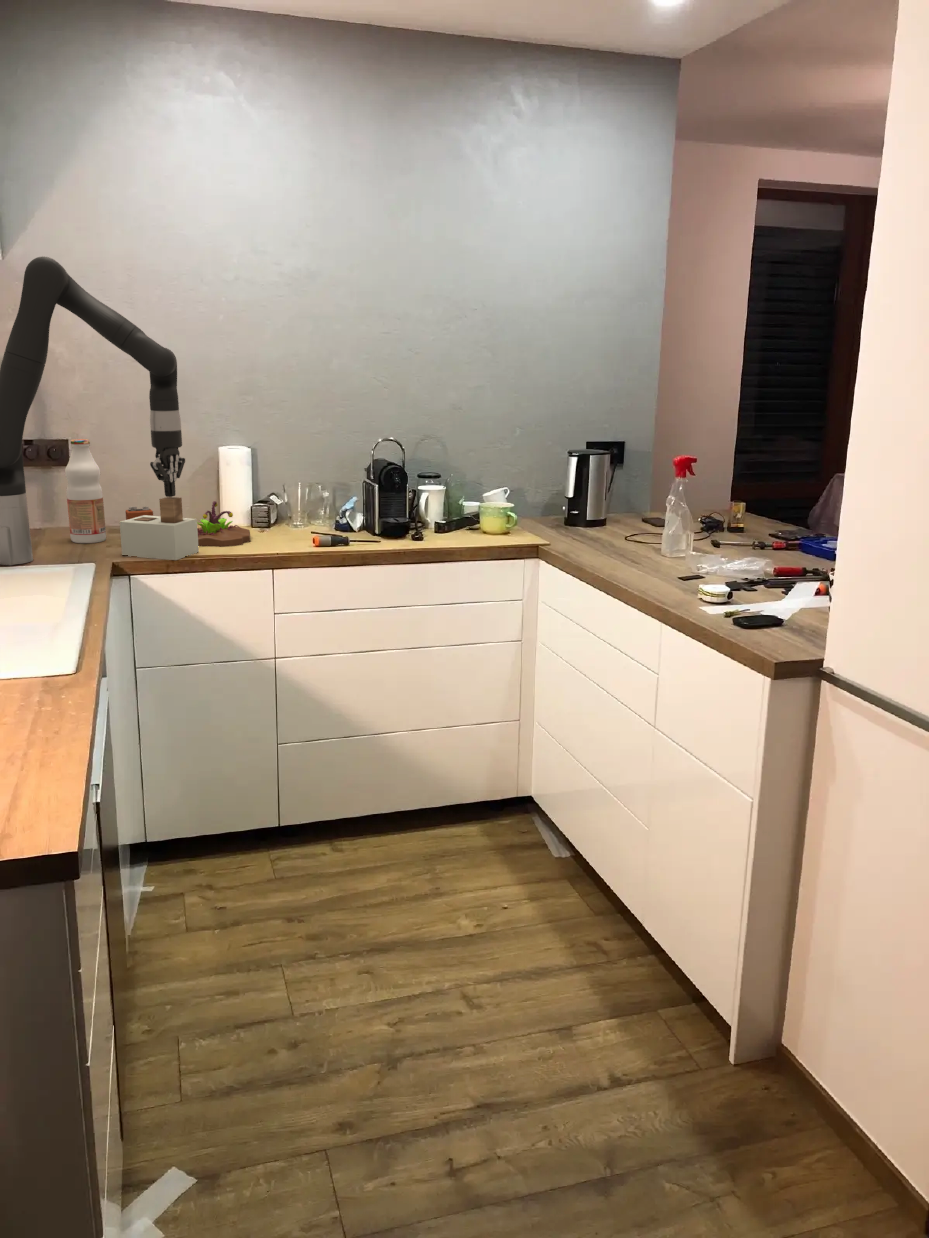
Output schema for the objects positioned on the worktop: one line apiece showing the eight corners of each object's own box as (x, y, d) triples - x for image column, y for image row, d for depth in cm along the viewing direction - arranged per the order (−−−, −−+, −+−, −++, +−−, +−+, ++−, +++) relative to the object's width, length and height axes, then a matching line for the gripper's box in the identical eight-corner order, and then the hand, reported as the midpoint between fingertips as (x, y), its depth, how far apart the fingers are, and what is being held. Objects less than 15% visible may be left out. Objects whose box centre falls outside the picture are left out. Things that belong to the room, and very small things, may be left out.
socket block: (175, 560, 254) (173, 525, 252) (122, 555, 259) (119, 521, 256) (198, 552, 265) (196, 518, 262) (146, 548, 269) (144, 515, 267)
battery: (127, 542, 277) (124, 506, 274) (152, 540, 280) (149, 505, 277) (130, 544, 273) (127, 508, 271) (155, 542, 276) (153, 507, 274)
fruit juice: (77, 545, 272) (68, 442, 264) (66, 539, 279) (56, 439, 271) (111, 541, 277) (103, 440, 270) (99, 536, 284) (91, 437, 277)
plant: (257, 535, 291) (256, 497, 288) (244, 548, 272) (242, 507, 269) (189, 534, 291) (187, 496, 288) (171, 547, 272) (168, 507, 269)
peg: (175, 534, 257) (172, 499, 254) (161, 533, 258) (159, 499, 255) (183, 531, 260) (181, 497, 258) (170, 530, 261) (168, 496, 259)
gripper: (164, 431, 245) (168, 500, 249) (192, 427, 257) (196, 493, 262) (137, 430, 247) (142, 499, 251) (167, 426, 259) (171, 492, 264)
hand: (170, 496), depth 257 cm, fingers closed
